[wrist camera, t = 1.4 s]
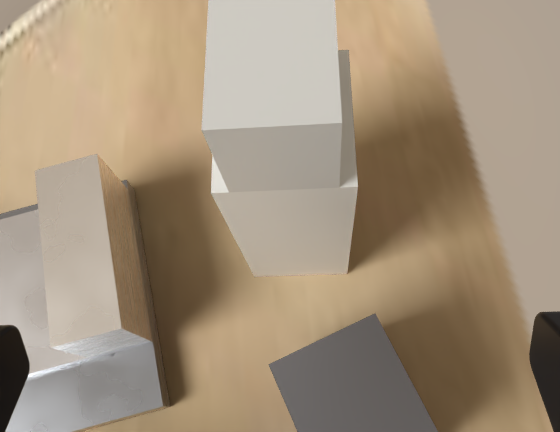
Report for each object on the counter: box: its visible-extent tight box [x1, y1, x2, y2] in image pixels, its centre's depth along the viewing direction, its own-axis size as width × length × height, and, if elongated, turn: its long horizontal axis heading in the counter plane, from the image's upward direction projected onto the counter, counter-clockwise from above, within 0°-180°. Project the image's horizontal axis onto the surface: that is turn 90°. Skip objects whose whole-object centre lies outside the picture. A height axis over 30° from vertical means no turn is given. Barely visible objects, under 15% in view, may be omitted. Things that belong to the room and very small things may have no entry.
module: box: [202, 0, 358, 277], centre depth 18 cm, size 5×4×12 cm
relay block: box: [269, 314, 438, 432], centre depth 19 cm, size 5×4×4 cm
